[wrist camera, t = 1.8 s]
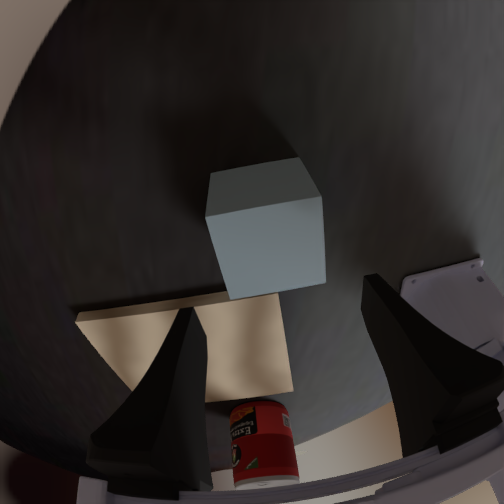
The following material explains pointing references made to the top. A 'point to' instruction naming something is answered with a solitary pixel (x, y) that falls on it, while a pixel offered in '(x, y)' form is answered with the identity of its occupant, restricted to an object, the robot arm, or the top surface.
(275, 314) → the board
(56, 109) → the top surface
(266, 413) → the canned food
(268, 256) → the cube
